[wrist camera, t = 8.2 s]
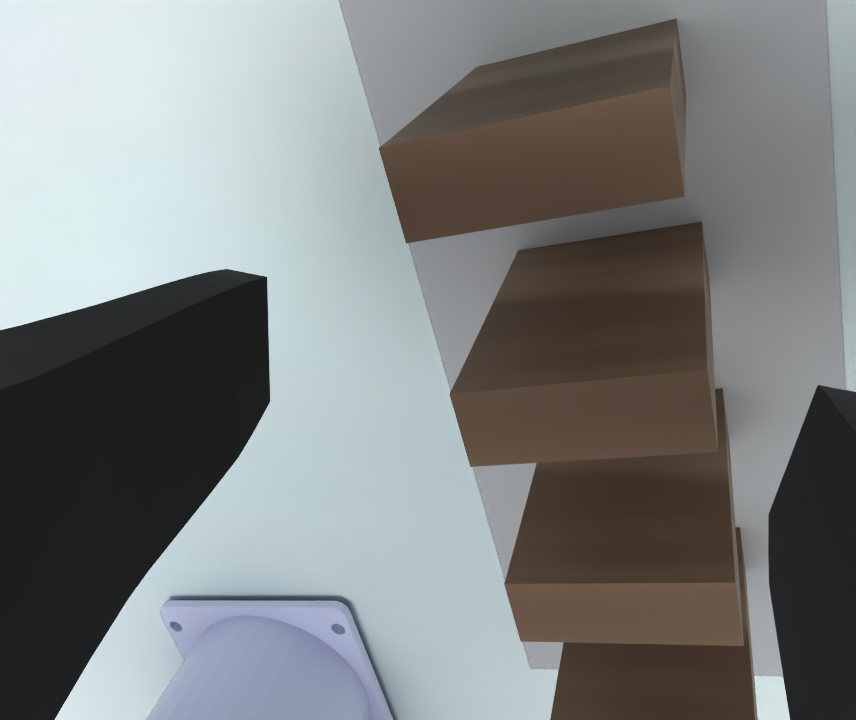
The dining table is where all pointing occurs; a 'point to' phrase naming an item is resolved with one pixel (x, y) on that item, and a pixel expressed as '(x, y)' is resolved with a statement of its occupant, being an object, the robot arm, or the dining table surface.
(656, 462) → the walnut tile
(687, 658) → the walnut tile
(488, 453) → the walnut tile
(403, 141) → the walnut tile
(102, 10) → the dining table surface
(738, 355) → the mat
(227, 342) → the robot arm
